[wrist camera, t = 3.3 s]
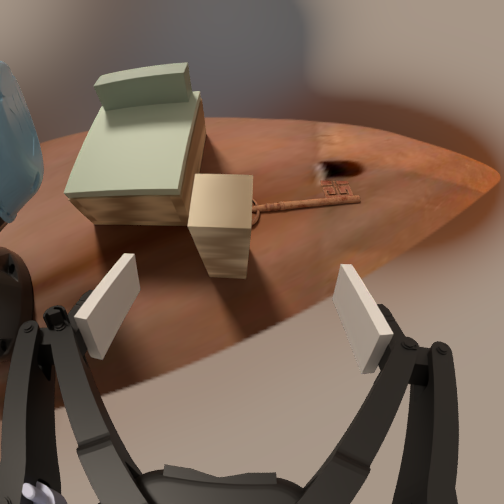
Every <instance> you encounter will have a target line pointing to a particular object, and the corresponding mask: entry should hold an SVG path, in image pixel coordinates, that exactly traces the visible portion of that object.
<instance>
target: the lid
mask: <svg viewBox="0 0 504 504" xmlns="http://www.w3.org/2000/svg"><path fill="white" fill-rule="evenodd" d="M94 88H95V90H96V93H97V95H98V97H99V99H100V101H101V104H102V107H101V109H100V111H99V113H98V115H97V116H96V118H95V120H94V122H93V124H92V126H91V128H90V130H89V132H88V135H87V137H86V139H85V141H84V143H83V145H82V148H81V150H80V152H79V155H78V157H77V159H76V162H75V164H74V167H73V169H72V172H71V174H70V177H69V180H68V182H67V185H66V188H65V191H64V194H65V195H66V196H67V197H68V198H78V197H98V196H126V195H180V192H181V186H182V181H183V175H184V170H185V165H186V160H187V155H188V150H189V145H190V141H191V136H192V132H193V127H194V123H195V119H196V115H197V111H198V107H199V103H200V99H201V96H200V92H199V91H197V92H192V89H191V82H190V75H189V67H188V63H177V64H176V63H175V64H166V65H157V66H149V67H142V68H136V69H131V70H125V71H120V72H115V73H110V74H106V75H102V76H100V78H99V79H98V80H97V82H96V83H95V85H94Z"/></svg>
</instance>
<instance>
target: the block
mask: <svg viewBox="0 0 504 504" xmlns="http://www.w3.org/2000/svg"><path fill="white" fill-rule="evenodd" d="M252 192H253V175H232V174H195V178H194V184H193V191H192V197H191V204H190V211H189V219H188V229H189V231H190V233H191V236H192V238H193V240H194V243H195V245H196V247H197V249H198V252H199V254H200V256H201V259H202V261H203V263H204V265H205V267H206V270H207V272H208V274H209V276H210V277H220V278H243V279H246V275H247V265H248V256H249V246H250V236H251V223H252Z"/></svg>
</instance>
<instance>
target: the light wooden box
mask: <svg viewBox="0 0 504 504" xmlns="http://www.w3.org/2000/svg"><path fill="white" fill-rule="evenodd" d="M205 138H206V128H205V120H204V112H203V104H202V99H200V103H199V107H198V111H197V115H196V119H195V123H194V127H193V132H192V136H191V141H190V145H189V150H188V155H187V160H186V165H185V170H184V175H183V181H182V186H181V192H180V195H126V196H98V197H78V198H69V201H70V202H71V203H72V204H73V205H74V206H75V207H76V208H77V209H78V210H79V211H80V212H81V213H82V214H83V215H84V216H86V217H87V218H88V219H89V220H90V221H91V222H92V223H93V224H94V225H168V226H188V219H189V211H190V204H191V197H192V191H193V184H194V178H195V174H200V167H201V161H202V155H203V149H204V144H205Z"/></svg>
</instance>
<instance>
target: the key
mask: <svg viewBox="0 0 504 504" xmlns="http://www.w3.org/2000/svg"><path fill="white" fill-rule="evenodd" d="M320 182H321V185H322V186H328V185H332V183H331V181H320ZM333 183H334V186H335V189H336V192H337V195H334V194H336V193H335V190H334V188H333V187H322V188H323V191H324V194H325V197H326V198H321V199H310V200H299V201H289V202H283V201H282V202H279V203H273V204H266V205H258V204H257V202H256V201H255V200H254V199H253V198H252V201H253V202H254V204H255V205H256V206H253V207H252V212H257V215H256V217H255V219H254V220H252V223H251V226H252V225H254V224H255V223H256V222H257V220H258V218H259V215H260V212H263V211H267V212H268V211H272V210H274V211H277V210H285V209H294V208H303V207H313V206H324V205H334V204H345V203H357V202H360V197H359V196H354V195H353V193H352V190H351V188H350V186H338V189H339V192H340V194H346V193H347V192H348V195H339V192H338V190H337V187H336V185H335V182H334V181H333ZM336 183H337V185H342V184H349V183H348V181H336ZM346 190H347V192H346ZM327 191H328V193H329V195H333V196H328V194H327Z"/></svg>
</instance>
